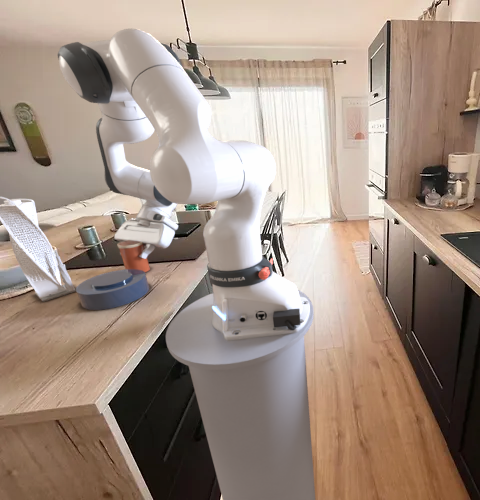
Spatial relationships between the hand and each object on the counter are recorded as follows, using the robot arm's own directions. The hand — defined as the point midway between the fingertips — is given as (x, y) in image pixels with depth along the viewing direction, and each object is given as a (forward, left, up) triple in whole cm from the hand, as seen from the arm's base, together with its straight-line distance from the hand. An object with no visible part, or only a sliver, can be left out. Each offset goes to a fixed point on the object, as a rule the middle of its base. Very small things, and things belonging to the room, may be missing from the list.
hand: (132, 256), depth 92 cm
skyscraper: (+14, +14, -6) cm, 21 cm away
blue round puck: (-5, +15, -5) cm, 17 cm away
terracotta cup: (0, -1, -5) cm, 5 cm away
